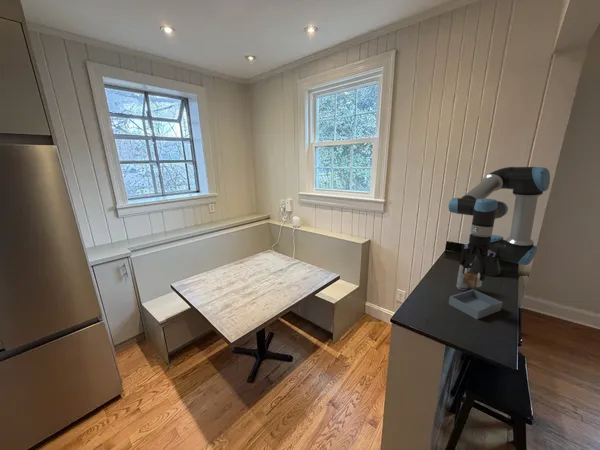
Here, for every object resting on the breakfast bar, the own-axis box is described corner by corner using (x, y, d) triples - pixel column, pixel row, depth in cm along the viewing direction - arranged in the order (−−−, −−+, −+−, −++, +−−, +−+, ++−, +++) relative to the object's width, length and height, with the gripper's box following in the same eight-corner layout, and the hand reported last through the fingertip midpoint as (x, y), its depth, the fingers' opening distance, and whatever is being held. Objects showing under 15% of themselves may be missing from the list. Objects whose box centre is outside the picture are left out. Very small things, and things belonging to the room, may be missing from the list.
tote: (471, 296, 124) (472, 289, 123) (500, 310, 112) (502, 302, 111) (448, 304, 117) (449, 296, 116) (477, 319, 106) (478, 311, 105)
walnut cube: (462, 283, 112) (464, 273, 111) (469, 281, 114) (471, 271, 113) (473, 287, 107) (475, 277, 106) (481, 285, 109) (482, 275, 108)
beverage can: (469, 291, 129) (473, 265, 125) (458, 290, 130) (462, 264, 126) (464, 286, 134) (469, 261, 130) (454, 286, 135) (458, 260, 131)
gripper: (454, 230, 112) (447, 277, 117) (498, 241, 95) (488, 294, 101) (465, 228, 114) (458, 274, 120) (510, 239, 98) (499, 291, 104)
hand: (471, 283), depth 110 cm, fingers closed on walnut cube, 5 cm apart
